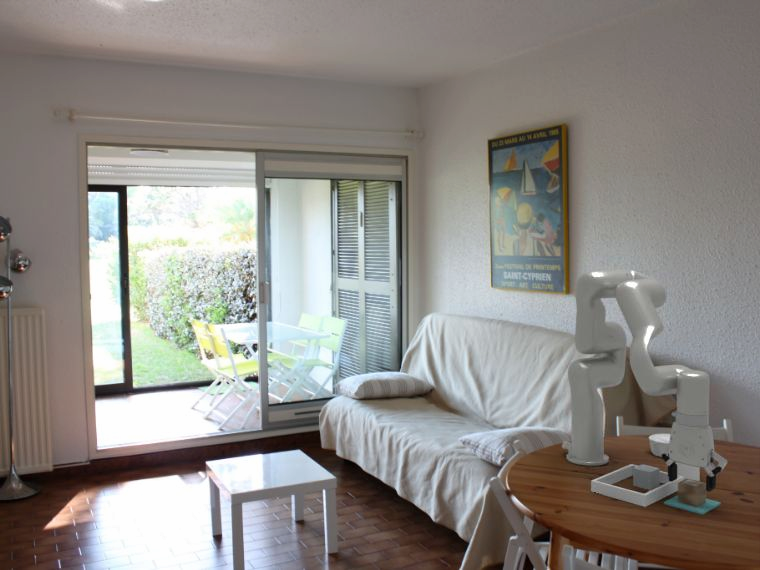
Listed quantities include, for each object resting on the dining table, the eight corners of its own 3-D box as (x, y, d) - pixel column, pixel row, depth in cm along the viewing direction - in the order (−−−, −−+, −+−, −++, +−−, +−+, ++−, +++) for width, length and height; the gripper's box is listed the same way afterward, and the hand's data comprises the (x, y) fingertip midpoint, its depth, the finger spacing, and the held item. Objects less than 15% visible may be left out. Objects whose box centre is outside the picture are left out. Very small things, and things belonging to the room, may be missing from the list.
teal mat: (663, 504, 183) (663, 502, 183) (682, 494, 190) (682, 492, 190) (702, 514, 175) (702, 512, 175) (720, 504, 182) (720, 502, 182)
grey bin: (591, 491, 193) (591, 480, 193) (631, 474, 206) (631, 464, 206) (645, 507, 181) (645, 495, 181) (684, 487, 195) (684, 476, 194)
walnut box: (677, 502, 183) (677, 482, 182) (686, 497, 186) (686, 478, 186) (697, 507, 179) (697, 487, 179) (705, 502, 182) (706, 482, 182)
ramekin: (643, 455, 224) (643, 438, 224) (656, 447, 233) (656, 431, 232) (680, 462, 217) (680, 444, 217) (692, 453, 225) (692, 437, 225)
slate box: (633, 486, 197) (633, 468, 197) (642, 481, 200) (642, 464, 200) (650, 490, 193) (650, 472, 193) (659, 486, 197) (659, 468, 196)
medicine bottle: (700, 482, 198) (700, 440, 198) (673, 481, 200) (673, 439, 199) (694, 474, 205) (694, 433, 205) (668, 473, 207) (668, 432, 206)
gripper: (652, 415, 185) (651, 480, 187) (720, 428, 172) (718, 498, 174) (667, 410, 190) (666, 473, 192) (733, 423, 177) (732, 490, 179)
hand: (691, 485), depth 183 cm, fingers open, 9 cm apart
